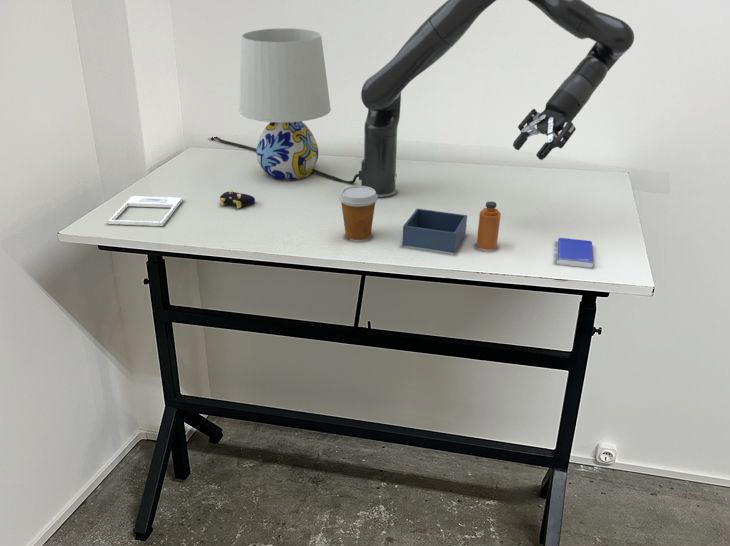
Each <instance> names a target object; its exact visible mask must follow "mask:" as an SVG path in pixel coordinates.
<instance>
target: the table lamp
mask: <svg viewBox="0 0 730 546" xmlns="http://www.w3.org/2000/svg"><path fill="white" fill-rule="evenodd" d="M239 71H240V73H239V109H238V110H239V114H240V115H241V116H242V117H244V118H246V119H249V120H252V121H258V122H263V123H264V122H265V123H268V124H267V125H266V126H265V127H264V129H263V131H262V132H261V134H260V137H259V139H258V142H257V147H256V149H257V151H256V157H257V162H258V164H259V165H260V168H261V169H262V171H263V172H264V173H265V174H266V175H267V177H269V178H270V179H273V180H277V181H297V180H303V179H305V178H307V177H309V176H310V175H311V173H313V172H312V170H313V169H315V168H316V165H317V162H318V160H319V147H318V143H317V140H316V138H315V136H314V134H313V133H312V131H311V129H310V128H309V127H308V126H307V125H306V123H304V122H307V121H312V120H316V119H319V118H323V117H325V116H327V115H328V114H329V113H330V112H331V111H332V110H331V109H332V108H331V101H330V94H329V85H328V78H327V77H328V76H327V70H326V62H325V53H324V46H323V37H322V34H321V32H319V31H317V30H313V29H306V28H296V27H295V28H294V27H292V28H290V27H278V28H262V29H255V30H250V31H246V32H244V33H242V34H241V35H240V69H239Z"/></svg>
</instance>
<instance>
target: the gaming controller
mask: <svg viewBox="0 0 730 546" xmlns="http://www.w3.org/2000/svg"><path fill="white" fill-rule="evenodd" d="M219 200H220V205H221V206H222V207H223V206H226V204H227V205H233V206H236V209H241V208H243V207H244V206H245V205H246V206H247V205H253V204H254V203H255V201H256V198H255V197H254V196H253V195H250V194H247V193H243V192H242V193H241V192H236V191H234V190H231V189H230V190H229V191H225V192H223V193H222V194H221V195H220V197H219Z"/></svg>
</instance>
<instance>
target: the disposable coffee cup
mask: <svg viewBox="0 0 730 546" xmlns="http://www.w3.org/2000/svg"><path fill="white" fill-rule="evenodd" d="M378 198H379V197H378V196H377V195H376V191H375V190H374V189H373V188H371V187H367V186H362V185H350V186H346V187H344V188H342V189H341V190H340V194H339V195H338V199H339V201H340V204H341V211H342V217H343V225H344V232H345V238H346V239H347V240H354V241H355V240H356V241H363V240H367V239H369V238H370V237H371V235H372V229H373V228H372V227H373V222H374V221H373V219H374V214H375V207H376V202H377V199H378Z"/></svg>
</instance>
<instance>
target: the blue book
mask: <svg viewBox="0 0 730 546" xmlns="http://www.w3.org/2000/svg"><path fill="white" fill-rule="evenodd" d="M556 247H557V250H556V264H557V265H560V266H561V265H562V266H572V267H580V268H589V269H590V268H593V266H594V253H593V241H592V240H587V239H586V240H585V239H575V238H568V237H567V238H566V237H559V238H558V239H557V246H556Z"/></svg>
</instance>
